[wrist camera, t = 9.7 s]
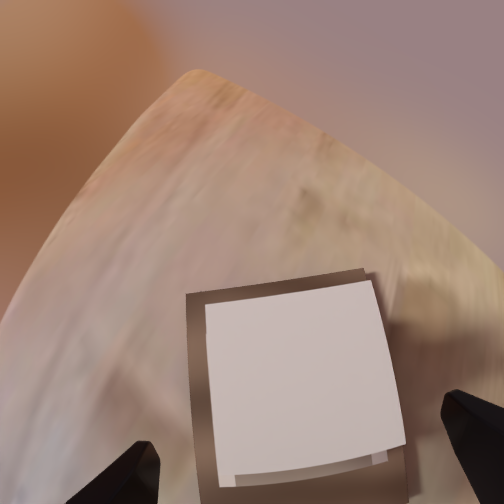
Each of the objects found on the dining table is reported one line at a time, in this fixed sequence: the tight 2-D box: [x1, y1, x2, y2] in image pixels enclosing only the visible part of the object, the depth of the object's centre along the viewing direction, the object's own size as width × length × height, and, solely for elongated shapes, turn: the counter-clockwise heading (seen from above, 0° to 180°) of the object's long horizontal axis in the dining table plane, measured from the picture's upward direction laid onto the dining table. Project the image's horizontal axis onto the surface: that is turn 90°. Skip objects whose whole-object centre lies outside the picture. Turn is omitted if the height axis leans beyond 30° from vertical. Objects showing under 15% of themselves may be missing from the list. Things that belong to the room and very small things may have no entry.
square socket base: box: [186, 268, 409, 504], centre depth 16 cm, size 16×12×4 cm
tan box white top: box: [205, 280, 406, 476], centre depth 12 cm, size 5×5×11 cm
